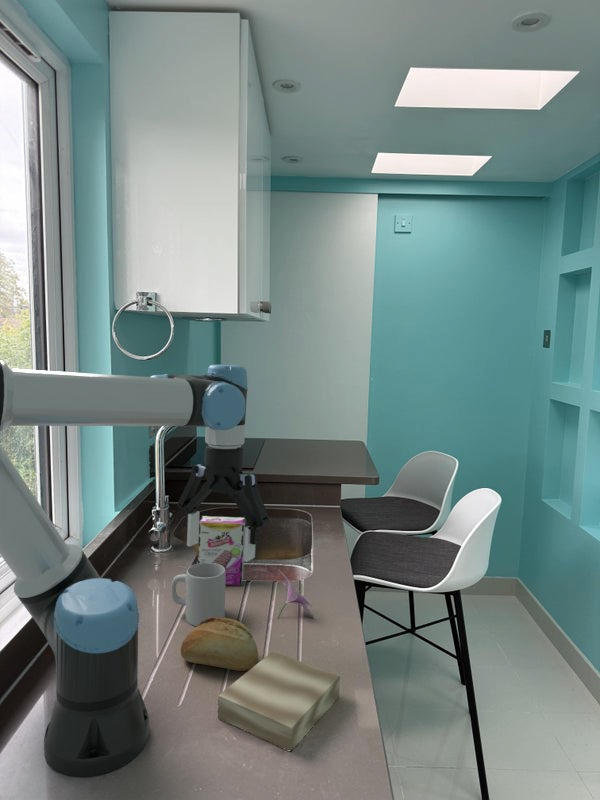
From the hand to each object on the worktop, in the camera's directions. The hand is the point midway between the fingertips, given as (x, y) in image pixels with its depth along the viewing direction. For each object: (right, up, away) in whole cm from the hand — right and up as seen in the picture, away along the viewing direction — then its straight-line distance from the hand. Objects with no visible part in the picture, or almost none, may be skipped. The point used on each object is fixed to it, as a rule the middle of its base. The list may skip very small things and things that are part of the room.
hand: (220, 551), depth 114 cm
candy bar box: (-4, -16, +32) cm, 36 cm away
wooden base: (+12, -22, -16) cm, 30 cm away
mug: (-7, -18, +14) cm, 24 cm away
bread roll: (0, -21, -3) cm, 21 cm away
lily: (+14, -19, +17) cm, 29 cm away
